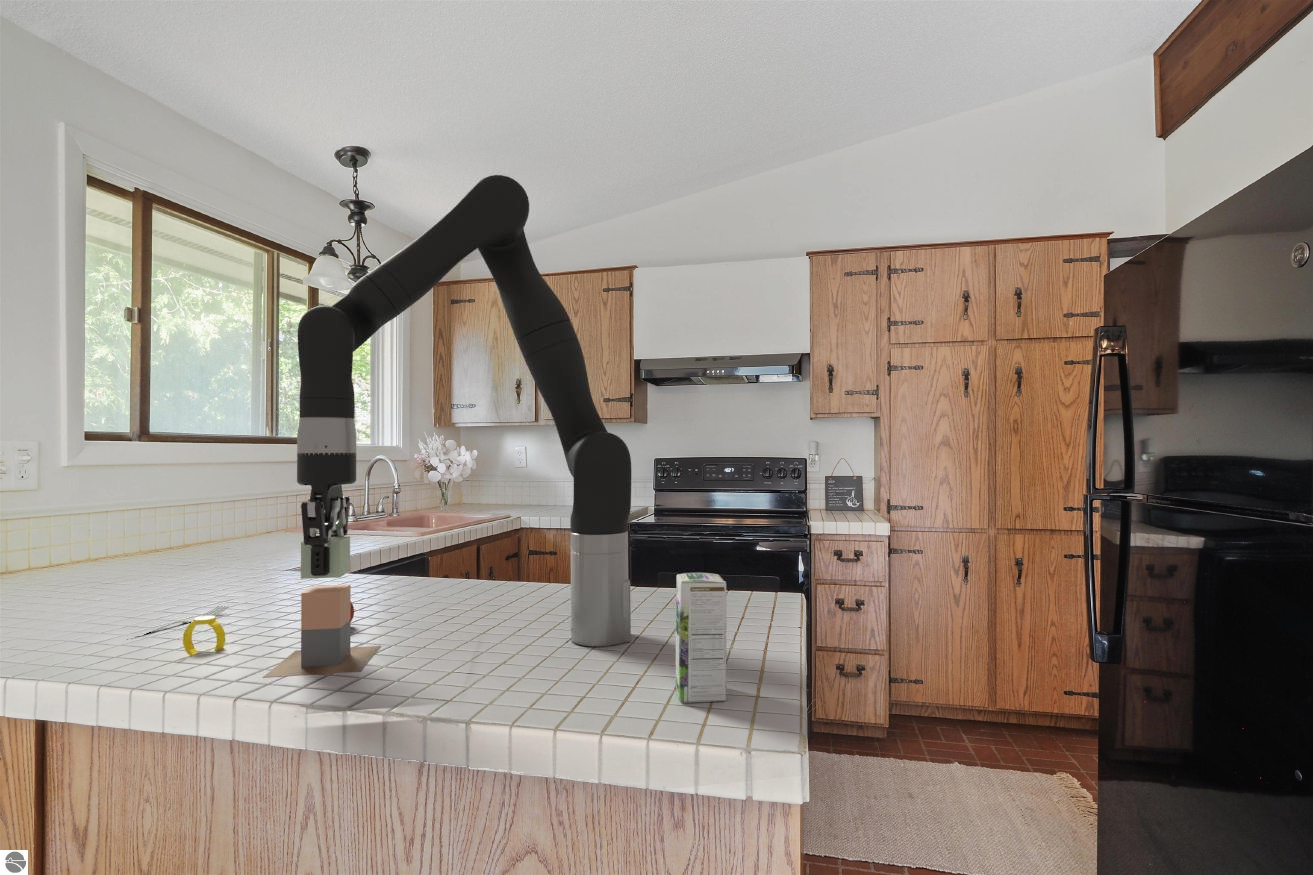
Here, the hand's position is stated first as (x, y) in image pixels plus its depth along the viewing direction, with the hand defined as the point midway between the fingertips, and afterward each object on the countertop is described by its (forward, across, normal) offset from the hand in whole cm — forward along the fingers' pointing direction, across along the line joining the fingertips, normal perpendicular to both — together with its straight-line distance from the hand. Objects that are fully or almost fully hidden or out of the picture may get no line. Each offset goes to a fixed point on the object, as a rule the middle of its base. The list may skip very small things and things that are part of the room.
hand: (326, 571), depth 94 cm
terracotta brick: (+7, 0, 0) cm, 7 cm away
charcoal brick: (+12, 0, 0) cm, 12 cm away
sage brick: (0, 0, 0) cm, 0 cm away
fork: (+14, +29, +35) cm, 48 cm away
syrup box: (+14, -20, -49) cm, 55 cm away
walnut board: (+14, 0, 0) cm, 14 cm away
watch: (+14, +10, +20) cm, 26 cm away
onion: (+14, +18, +4) cm, 23 cm away
